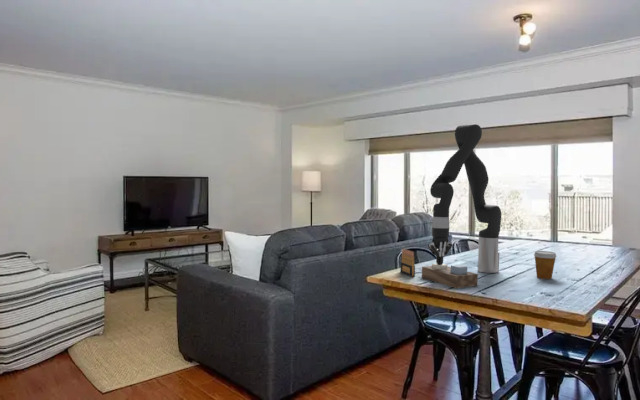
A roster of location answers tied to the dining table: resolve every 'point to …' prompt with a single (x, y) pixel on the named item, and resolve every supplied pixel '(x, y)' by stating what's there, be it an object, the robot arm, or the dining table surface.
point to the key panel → (450, 277)
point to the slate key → (458, 269)
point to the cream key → (439, 266)
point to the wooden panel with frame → (408, 263)
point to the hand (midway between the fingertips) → (439, 264)
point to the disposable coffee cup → (544, 264)
